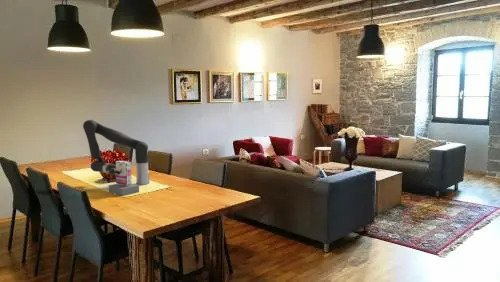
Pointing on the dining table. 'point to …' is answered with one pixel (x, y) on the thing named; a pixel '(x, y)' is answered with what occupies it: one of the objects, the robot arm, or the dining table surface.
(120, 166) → the candy bar box
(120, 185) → the charcoal plinth
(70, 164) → the dining table surface
